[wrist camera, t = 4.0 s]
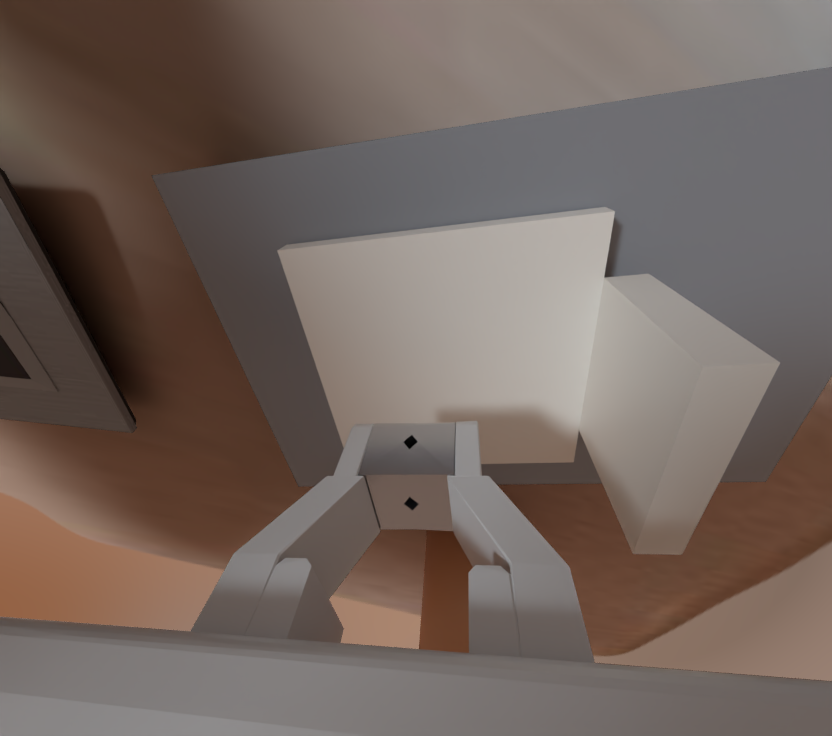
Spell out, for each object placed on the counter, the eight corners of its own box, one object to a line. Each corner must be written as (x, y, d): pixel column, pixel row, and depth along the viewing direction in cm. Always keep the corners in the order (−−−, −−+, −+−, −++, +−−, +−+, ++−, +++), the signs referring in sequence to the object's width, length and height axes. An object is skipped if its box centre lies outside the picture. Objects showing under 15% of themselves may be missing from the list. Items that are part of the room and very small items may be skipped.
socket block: (317, 444, 17) (298, 486, 15) (209, 168, 11) (151, 175, 9) (721, 433, 15) (766, 481, 13) (894, 60, 8) (1044, 33, 6)
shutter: (353, 454, 14) (314, 577, 10) (286, 244, 9) (169, 317, 5) (598, 448, 12) (664, 588, 8) (651, 201, 8) (834, 256, 4)
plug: (427, 541, 21) (406, 877, 11) (417, 490, 18) (379, 867, 9) (508, 543, 20) (558, 900, 11) (510, 490, 18) (576, 898, 8)
